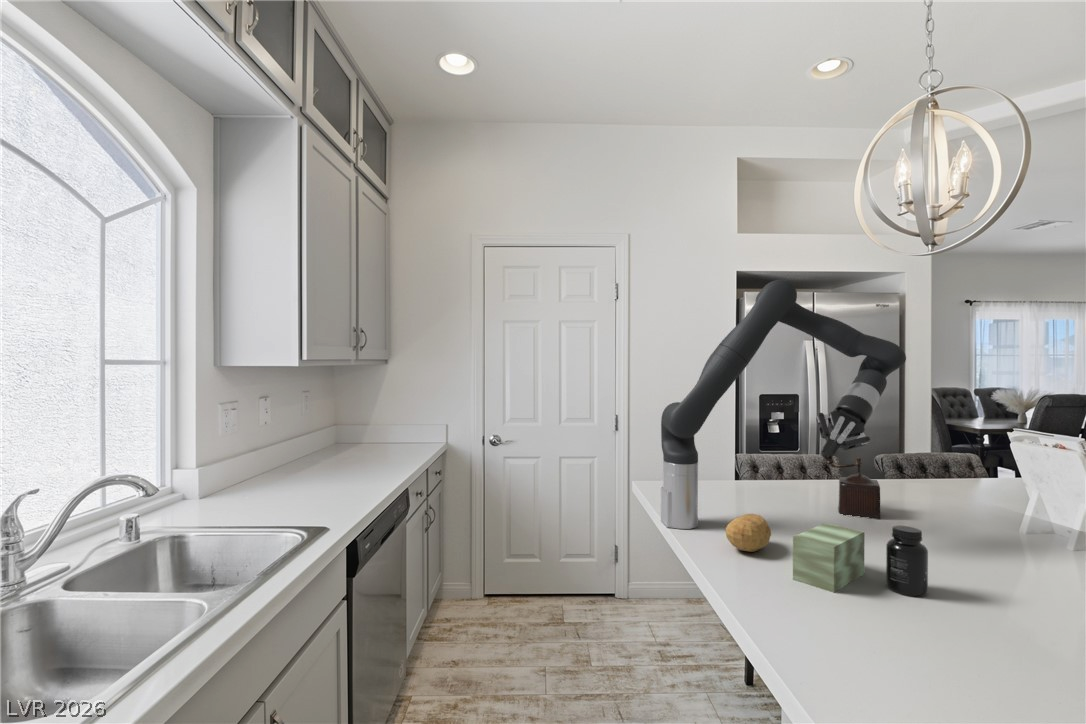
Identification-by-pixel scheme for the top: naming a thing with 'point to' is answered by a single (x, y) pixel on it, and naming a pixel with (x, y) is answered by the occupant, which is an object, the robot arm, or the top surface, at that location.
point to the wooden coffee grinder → (857, 492)
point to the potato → (748, 532)
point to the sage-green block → (828, 556)
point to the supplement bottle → (907, 562)
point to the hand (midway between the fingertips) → (826, 454)
